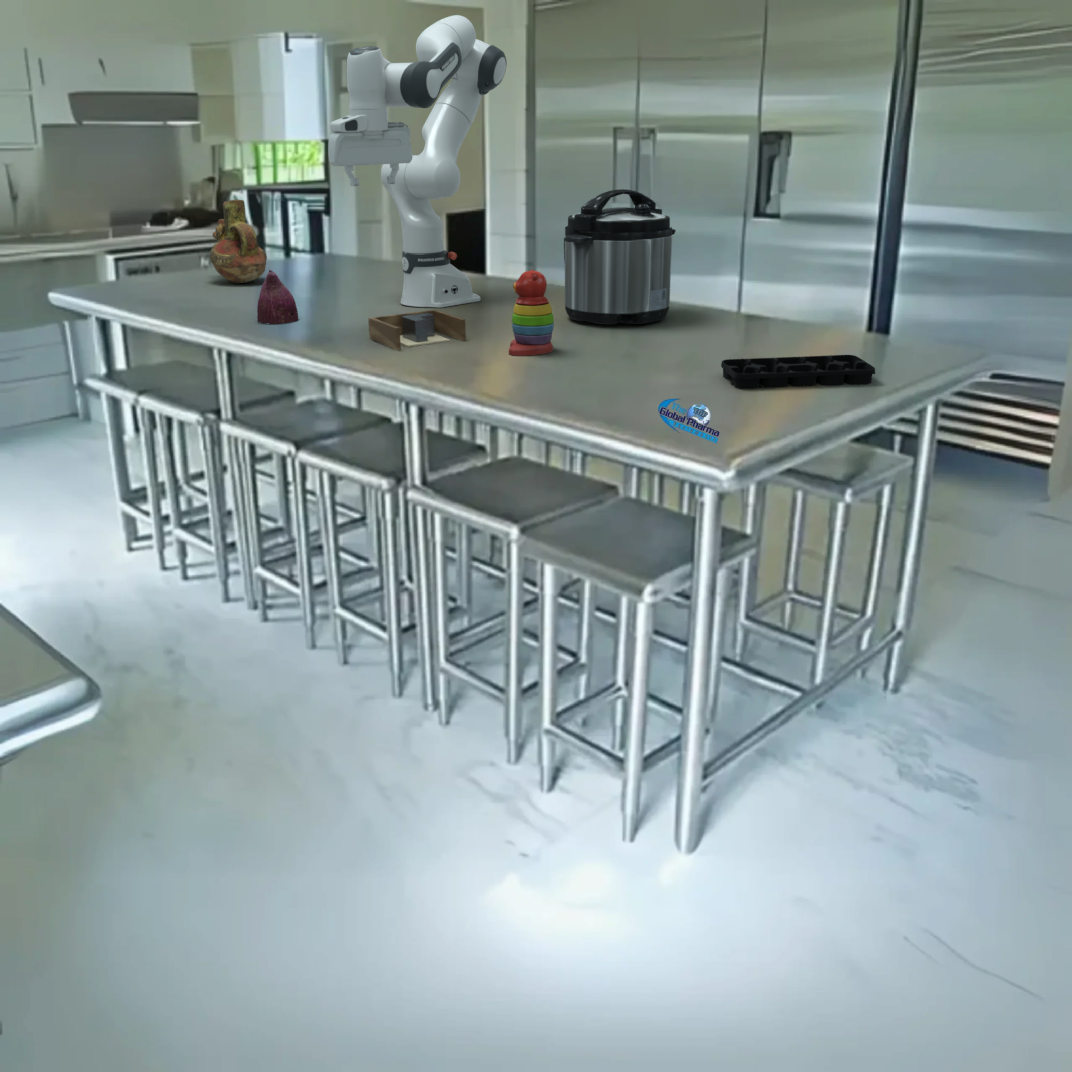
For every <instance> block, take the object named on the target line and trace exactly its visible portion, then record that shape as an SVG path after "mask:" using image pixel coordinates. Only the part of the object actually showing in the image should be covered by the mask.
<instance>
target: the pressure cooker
mask: <svg viewBox="0 0 1072 1072" xmlns="http://www.w3.org/2000/svg"><path fill="white" fill-rule="evenodd" d="M621 195H628V196H629V198H630V199H631V202H632V204H633V205H634V207H626V206H625V207H618V206H617V207H608V208H605V207H606V205H607V204H608V203H609V201H610V200H611V199H612V198H614V197H617V196H621ZM656 206H657V203H656V202H655V201H654V200H653V199H651V198H650V197H649V196H647V195H646V194H644V193H642V192H638V191H636V190H632V189H623V188H622V189H613V190H608V191H605V192H602V193H600V194H597V195H596V196H594V197H592V198H591V199H590V200H589V201H587V202H586V203H584V204H583V205H582V206H581V207H580V212H579V213H575V214H570V215H569V216H568V217H567V225H566V226H565V227H564V238H563V259H564V260H563V261H564V309H565V311H566V314H567V316H568V318H570V319H571V320H575V321H578V322H584V321H585V322H588V323H592V324H598V325H617V324H618V323H619V324H620V323H621V324H629V325H630V324H631V325H633V324H634V325H635V324H636V325H637V324H638V325H639V324H641V325H644V324H649V323H656V322H659V321H661V320H663V319H665V318H666V316H667V314H668V313H669V310H670V306H671V302H670V301H671V274H672V252H673V251H672V250H673V249H672V248H673V236H674V235H675V233H676V229H674V228H673V227H672V226H671V217H670V216H669V215H665V214H663V210H662V208H656Z"/></svg>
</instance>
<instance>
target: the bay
mask: <svg viewBox="0 0 1072 1072" xmlns="http://www.w3.org/2000/svg"><path fill="white" fill-rule="evenodd" d="M423 313H429V314H433V315H434V332H437V333H438V334H442V335H444V336H448V337H450V338H451V339H452V338H453V339H456V340H458V341H462V342H465V341H467V336H466V333H467V332H466V319H465V318H462V317H459V316H456V315H454V314H453V315H452V314H450V313H447V312H444V311H441V310H439V309H438V310H437V309H431V310H422V311H421V310H420V311H415V312H413V311H412V312H406V313H398V314H390V315H381V316H375V317H374V316H372V317H368V319H367V320H368V321H367V323H368V335H369V336H368V337H369V340H371V339H373V340H372V341H375V342H376V341H377V343H378V342H379V344H381V343H382V344H381V345H383V344H384V346H386V347H388V346H389V347H388V348H390V347H391V348H390V349H393V348H394V349H393V350H395V349H396V351H401V350H402V347H401V346H402V345H401V343H400V335H403V334H402V317H401V316H407V315H415V314H423Z"/></svg>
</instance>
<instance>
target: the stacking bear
mask: <svg viewBox="0 0 1072 1072" xmlns="http://www.w3.org/2000/svg"><path fill="white" fill-rule="evenodd" d="M512 288H513V289H514V290H513V291H514V293H516V294H517V295H518V297H517V298H516V299H515V303H514V307H513V313H512V318H511V326H512V332H513V336H514V339H512V341H511V342H510V343H509V348H508V355H510V356H515V357H517V356H518V357H519V356H520V357H522V356H523V357H524V356H539V355H544V354H549V353H551V352H552V351H553V350H554V347H553V343H552V341H551V340H552V336H553V331H554V325H555V323H554V322H555V321H554V313H553V309H552V303H550V302H549V299H548V298H547V297H546V296H545V293H546V292H547V291H546V290H547V278H546V276H545V275H544V274H543V273H542V272H540V271H537V270H534V269H530V270H527V271H524V272H522V273H521V274H520V276H519V277H518V279H517V280H516V281H515V282H514V283H513V285H512Z"/></svg>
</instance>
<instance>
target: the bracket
mask: <svg viewBox="0 0 1072 1072" xmlns="http://www.w3.org/2000/svg"><path fill="white" fill-rule="evenodd" d="M401 317H402V334H403V338H406V339H409V340H411V341H414V342H422V341H428V339H427V337H429V336H435V331H434V315H433V314H429V313H423V314H415V315H407V316H401Z"/></svg>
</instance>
